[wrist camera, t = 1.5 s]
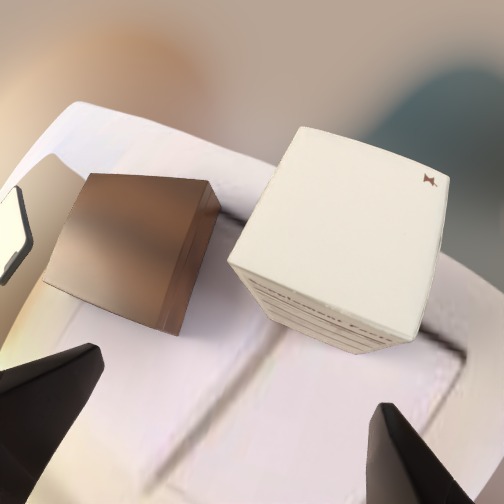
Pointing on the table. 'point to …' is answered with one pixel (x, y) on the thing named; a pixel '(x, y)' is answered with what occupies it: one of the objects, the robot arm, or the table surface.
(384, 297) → the white packaging box
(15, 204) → the white smartphone
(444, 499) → the robot arm
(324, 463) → the table surface
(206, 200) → the block
